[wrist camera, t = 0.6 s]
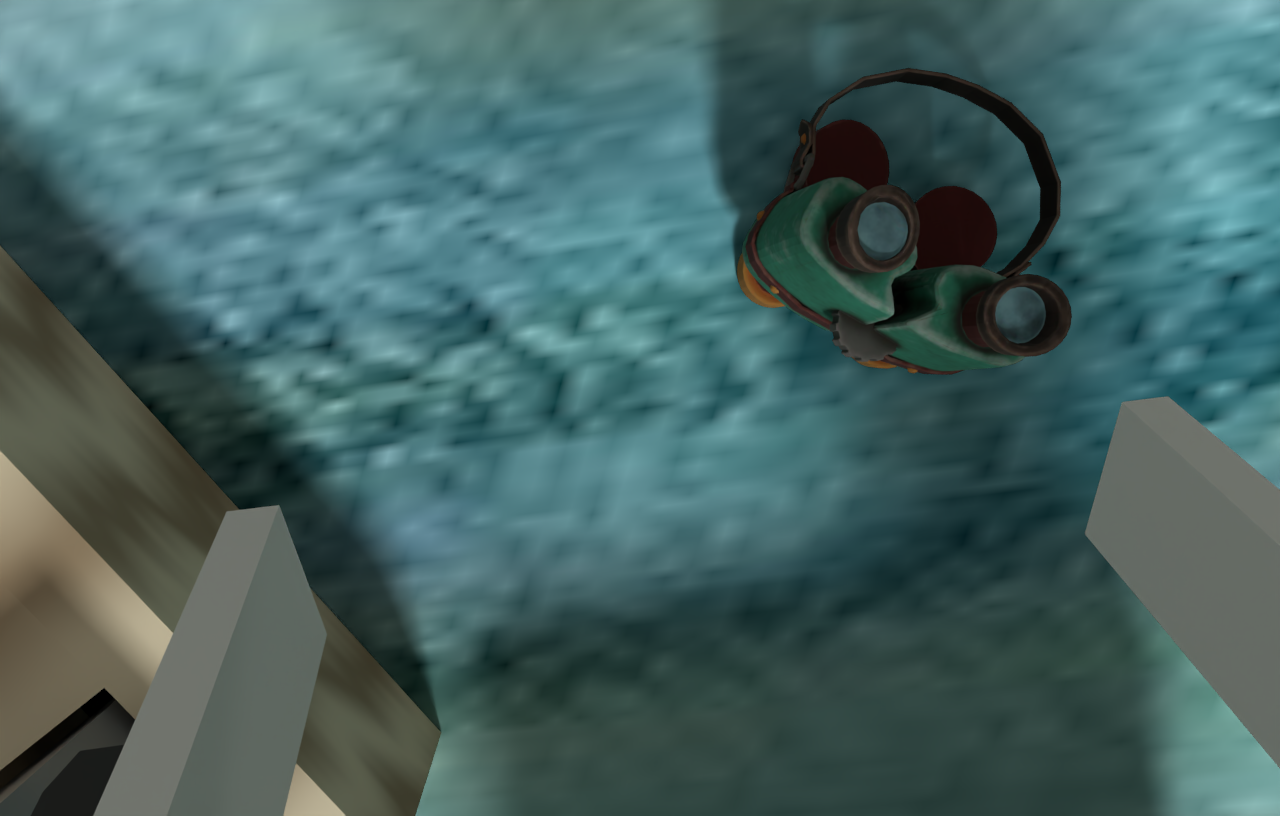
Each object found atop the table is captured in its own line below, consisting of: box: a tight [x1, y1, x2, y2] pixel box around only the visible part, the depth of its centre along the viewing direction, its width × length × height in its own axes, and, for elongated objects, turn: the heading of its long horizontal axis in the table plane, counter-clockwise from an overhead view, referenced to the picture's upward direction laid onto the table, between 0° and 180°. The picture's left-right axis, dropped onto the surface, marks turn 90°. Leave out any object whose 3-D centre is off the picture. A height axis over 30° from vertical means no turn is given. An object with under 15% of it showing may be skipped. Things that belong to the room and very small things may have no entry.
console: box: [0, 246, 441, 816], centre depth 28 cm, size 26×12×8 cm, turn 38°
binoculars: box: [737, 68, 1072, 374], centre depth 27 cm, size 9×11×10 cm
